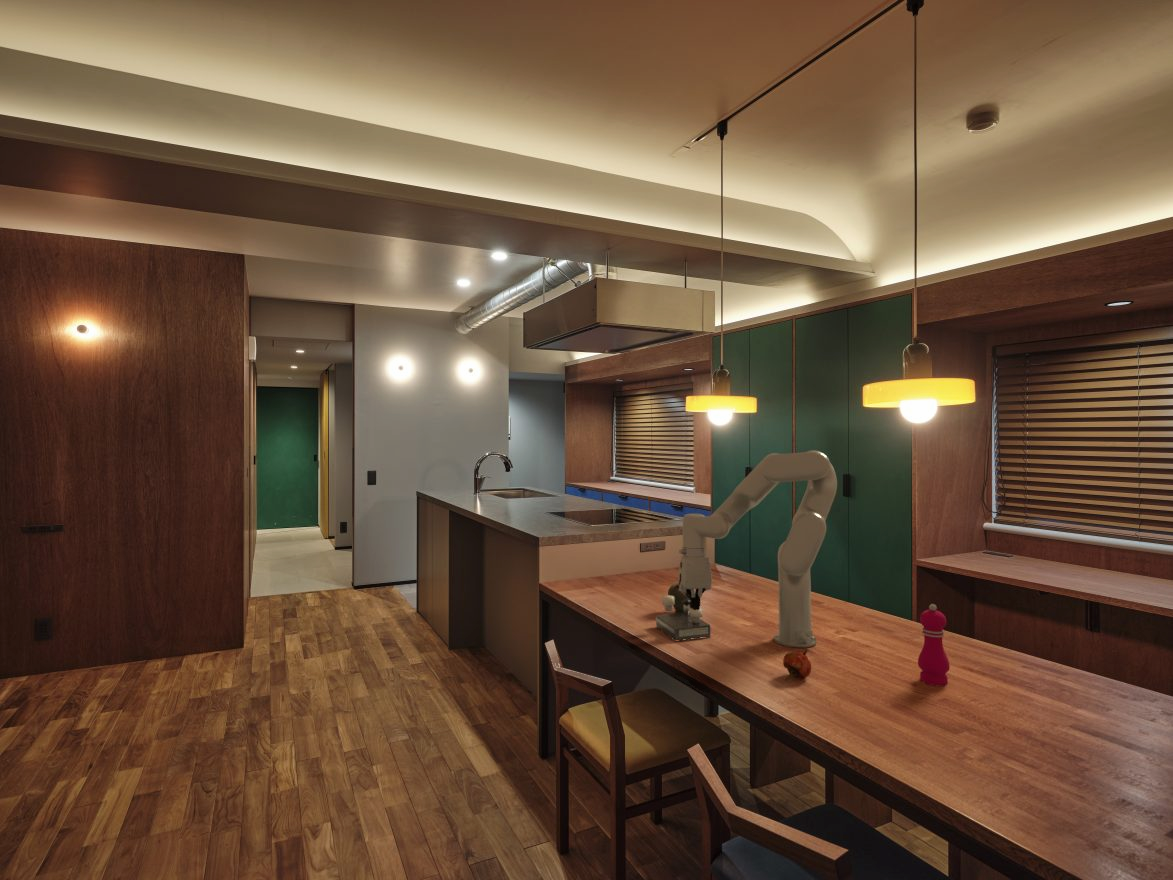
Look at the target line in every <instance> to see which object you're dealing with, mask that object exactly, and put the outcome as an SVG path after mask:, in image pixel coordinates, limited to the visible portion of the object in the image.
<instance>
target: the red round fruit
mask: <svg viewBox="0 0 1173 880" xmlns="http://www.w3.org/2000/svg"><path fill="white" fill-rule="evenodd" d="M782 665H783V667H784V668H785V669H787V672H788V673H789V674H788V675H787V677H786V678H785V681H787V680H788V679H789V678H790V677H791V676H793V677H796V678H799V679H801V680H804V679H806V678H808V676H810V674H811V672H812V663H811V661H810V659H809V658H808V656H807V651H806V650H805V651H804V652H801V651H796V650H795V651H789V652H787V653H786V654H785V655H784V657H783V661H782Z"/></svg>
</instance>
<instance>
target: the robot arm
mask: <svg viewBox="0 0 1173 880" xmlns="http://www.w3.org/2000/svg"><path fill="white" fill-rule="evenodd" d="M836 474H837V473H836V471H835V468H834V466H833V464H832V463H831V461H830V459H829V457H828V456H827V454H826V453H823V452H821V451H819V450H814V449H813V450H808V451H805V452H804V451H803V452H795V453H794V452H792V453H776V452H773V453H770V454H767V455H766V456H765V457H764V458H763V459H762V460H761V461H760V462H759V463H758V464H757V465H756V466H755V467H754V468H753V469H752V470H751V471H750V472H749V473H748V474H747V476H746V477H745V478H743V479H742V481H741V482H740V483H739V484H738V485H737V486H736V487H735V488H734V490H733V492H732V493H730V495H729V496H728V497H727V498H726V499H725V500H724V501H723V503H721V505H720V506H719V507H717V509H716V510H715V511H714V512H713V513H712V514H711V515H709V516H708V515H707V516H705V515H704V514H702V513H686V514H684V516H682V548H680V549H678V552H679V554H680V555H682V556H681V557H680V562H679V567H678V582H679V585H680V587H679V591H681V592H685V593H687V594H688V595H689V596H690V606H691V608H692V609H694V610H696V609H697V610H699V609H700V608H701V597H703V594H704V593H705V592H708V591H709V590H711V589H712V588H711V587H712V585H713V575H712V566H711V565H712V563H711V560H710V556H708V555H707V538H709V539H717V540H720V539H725V537H727V536H728V534H730V533H729V532H730V530H731V529H732V528H733V527H734V526H735V525H736V524H737V522H738V521H739V520H740V519H741V518H742V517H744V515H745V514H746V513H747V512H749V511H750V510H751V509H753V508H755V507H756V506H758V505H759V504H760V503H761V502H762V501H763V500H764V499H765V498H766V497H767V496H768V495H769V494H770V493H771V492H772V491H773V489H774V488H776V487H777V485H778V484H780V483H786V482H791V483H792V482H803V481H806V482H807V486H806V489H805V492H804V495H803V497H802V500H801V502H800V504H799V506H798V508H797V510H796V512H795V514H794V516H793V518H792V521H791V522H792V523H791V525H792V526H791V528H790V530H789V532H788V535H787V537H786V539H785V541H783V542H782V543H781V544H780V546H779V547H778V550H777V568H778V569H777V570H778V572H777V573H778V576H777V577H778V578H777V579H778V630H779V631H778V632H777V633H776V634H774V635H773V640H774V641H775V643H777V644H779V645H782V646H785V647H791V648H810V647H813V646H815V645H817V642H818V641H817V640H818V639H817V637H815V636H814V635H813V630H812V601H811V599H812V597H811V594H812V593H811V592H812V591H811V590H812V587H811V586H812V585H811V584H812V583H811V568H812V566H813V564H814V562H815V560H816V557H817V556H818V553H819V551H820V548H821V546H822V544H823V541H824V540H825V536H826V532H827V523H826V520H827V518H828V516H829V513H830V511H831V507H832V505H833V502H834V500H835V497H836V494H837V490H838V478H837V475H836Z"/></svg>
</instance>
